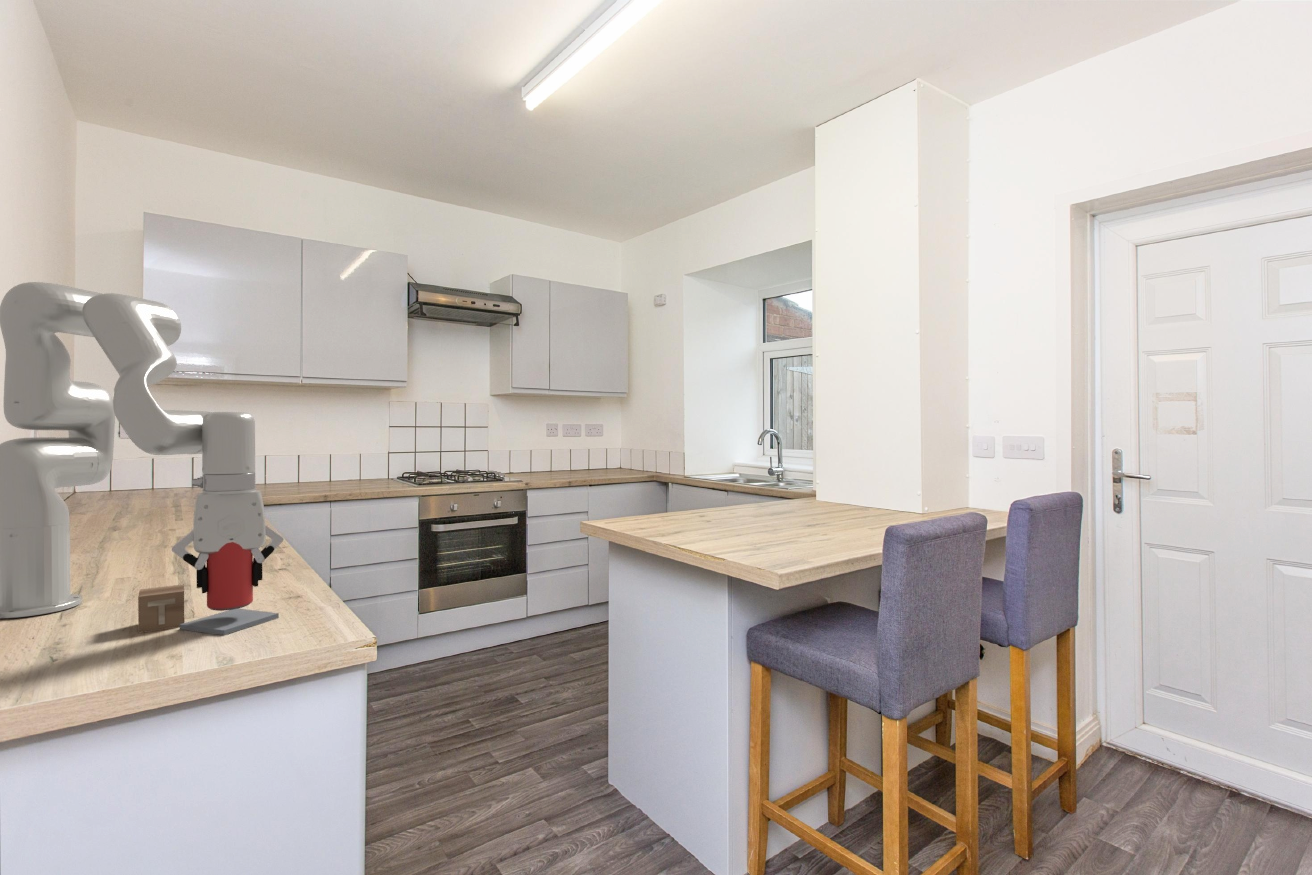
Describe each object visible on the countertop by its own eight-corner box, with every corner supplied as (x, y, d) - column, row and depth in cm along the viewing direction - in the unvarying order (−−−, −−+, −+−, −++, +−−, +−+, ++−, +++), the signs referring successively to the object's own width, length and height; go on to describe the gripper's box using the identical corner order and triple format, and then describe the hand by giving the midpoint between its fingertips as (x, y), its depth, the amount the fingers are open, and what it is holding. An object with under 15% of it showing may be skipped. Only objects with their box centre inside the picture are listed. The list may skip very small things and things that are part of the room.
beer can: (229, 612, 104) (229, 540, 103) (196, 610, 105) (196, 539, 105) (262, 602, 110) (261, 533, 110) (230, 600, 111) (230, 532, 111)
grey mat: (179, 629, 104) (179, 624, 104) (236, 612, 114) (236, 608, 114) (224, 635, 101) (224, 630, 101) (278, 617, 111) (278, 613, 111)
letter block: (140, 624, 107) (139, 589, 107) (183, 617, 111) (183, 584, 111) (138, 633, 102) (138, 597, 102) (184, 626, 106) (184, 591, 106)
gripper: (164, 488, 99) (165, 601, 99) (290, 483, 110) (291, 585, 110) (165, 485, 105) (166, 591, 105) (285, 480, 116) (285, 577, 116)
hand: (230, 587), depth 108 cm, fingers closed on beer can, 6 cm apart
